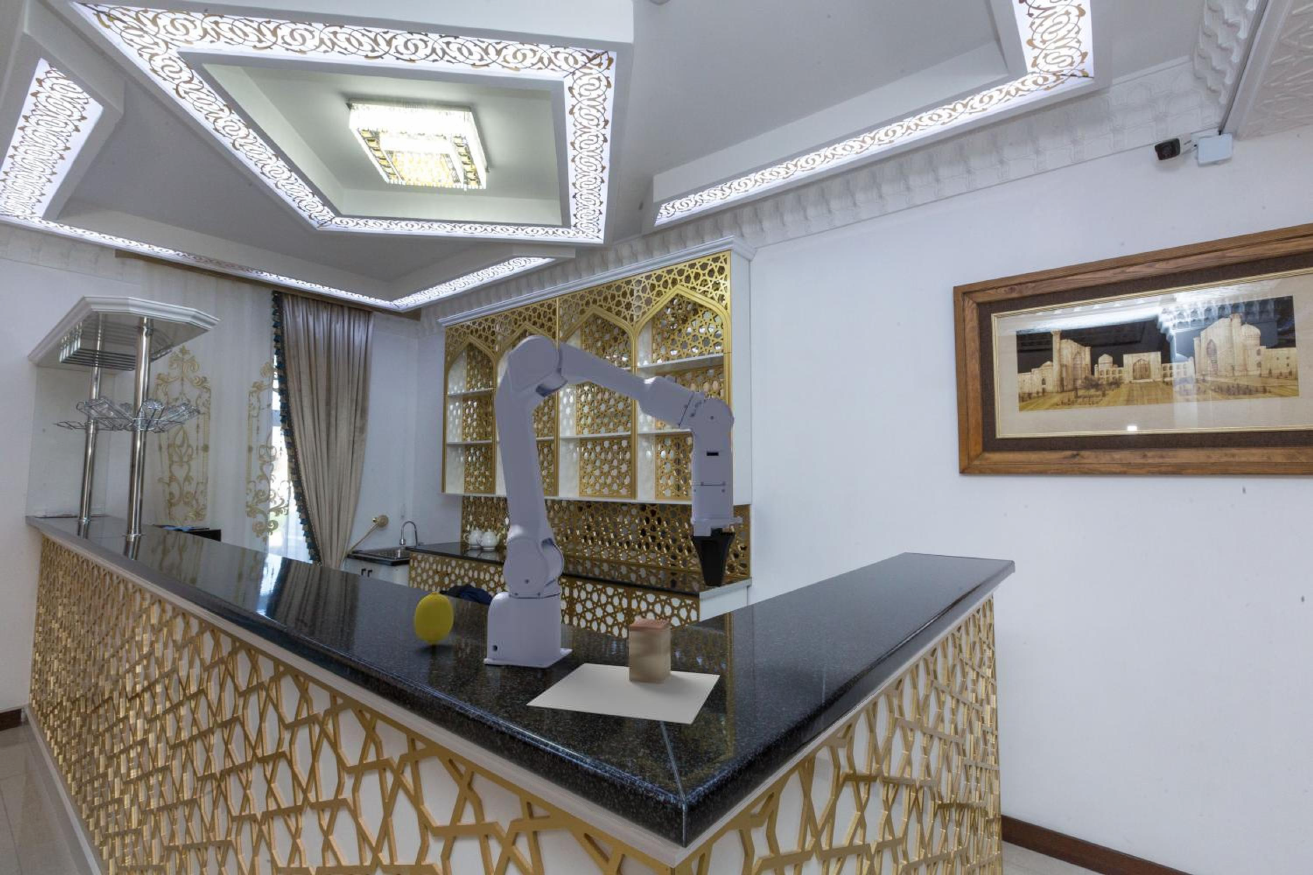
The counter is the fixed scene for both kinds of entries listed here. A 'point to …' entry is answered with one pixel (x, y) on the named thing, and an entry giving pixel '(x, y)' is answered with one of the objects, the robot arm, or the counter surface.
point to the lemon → (433, 618)
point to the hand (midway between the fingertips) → (713, 585)
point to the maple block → (649, 651)
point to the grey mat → (629, 694)
